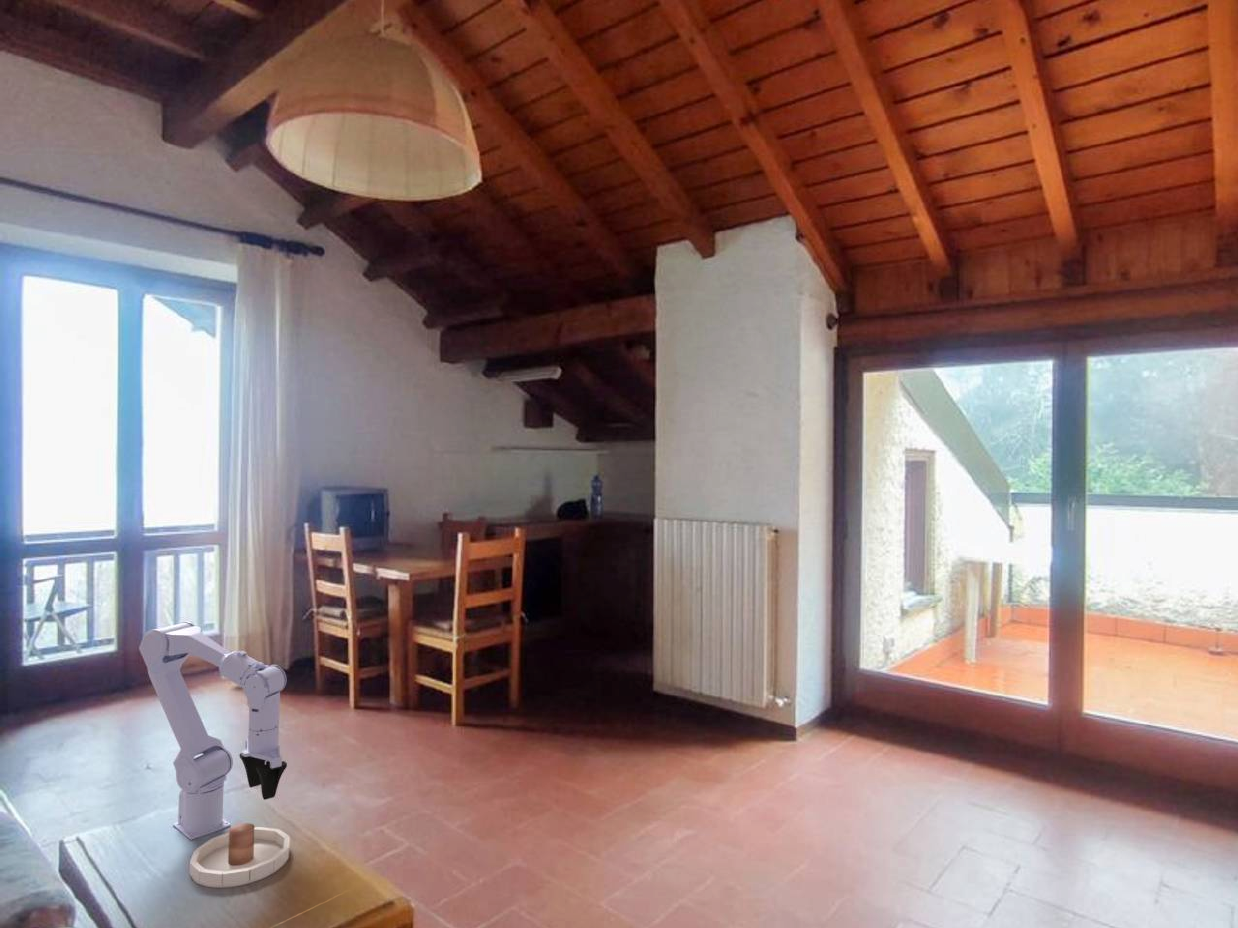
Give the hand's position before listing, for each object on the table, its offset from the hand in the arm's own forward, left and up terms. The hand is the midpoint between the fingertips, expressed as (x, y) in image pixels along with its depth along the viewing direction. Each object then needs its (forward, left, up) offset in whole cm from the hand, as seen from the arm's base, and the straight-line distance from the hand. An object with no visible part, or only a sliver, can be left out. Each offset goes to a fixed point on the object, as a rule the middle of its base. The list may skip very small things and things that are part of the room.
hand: (261, 791), depth 151 cm
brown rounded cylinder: (+7, -7, -9) cm, 13 cm away
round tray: (+7, -7, -9) cm, 14 cm away
